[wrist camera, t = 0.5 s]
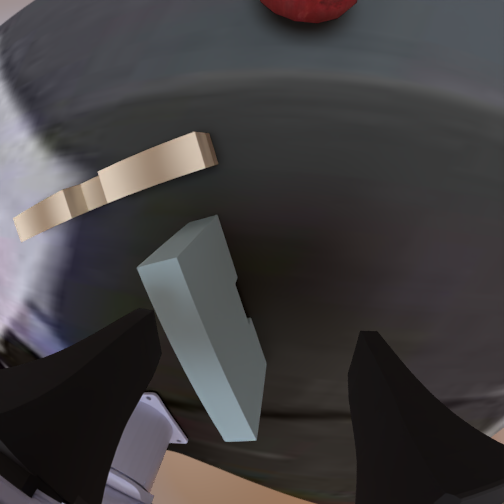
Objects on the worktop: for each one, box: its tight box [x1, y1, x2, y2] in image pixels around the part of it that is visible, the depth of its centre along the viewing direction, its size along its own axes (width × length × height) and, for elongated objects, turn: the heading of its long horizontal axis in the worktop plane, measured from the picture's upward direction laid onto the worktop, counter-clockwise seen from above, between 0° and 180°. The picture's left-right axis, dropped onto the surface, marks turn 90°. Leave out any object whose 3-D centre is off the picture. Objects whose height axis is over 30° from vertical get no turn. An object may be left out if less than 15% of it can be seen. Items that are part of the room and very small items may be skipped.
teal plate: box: [137, 215, 267, 442], centre depth 18 cm, size 2×12×8 cm, turn 16°
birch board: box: [13, 132, 218, 242], centre depth 18 cm, size 16×2×3 cm, turn 106°
